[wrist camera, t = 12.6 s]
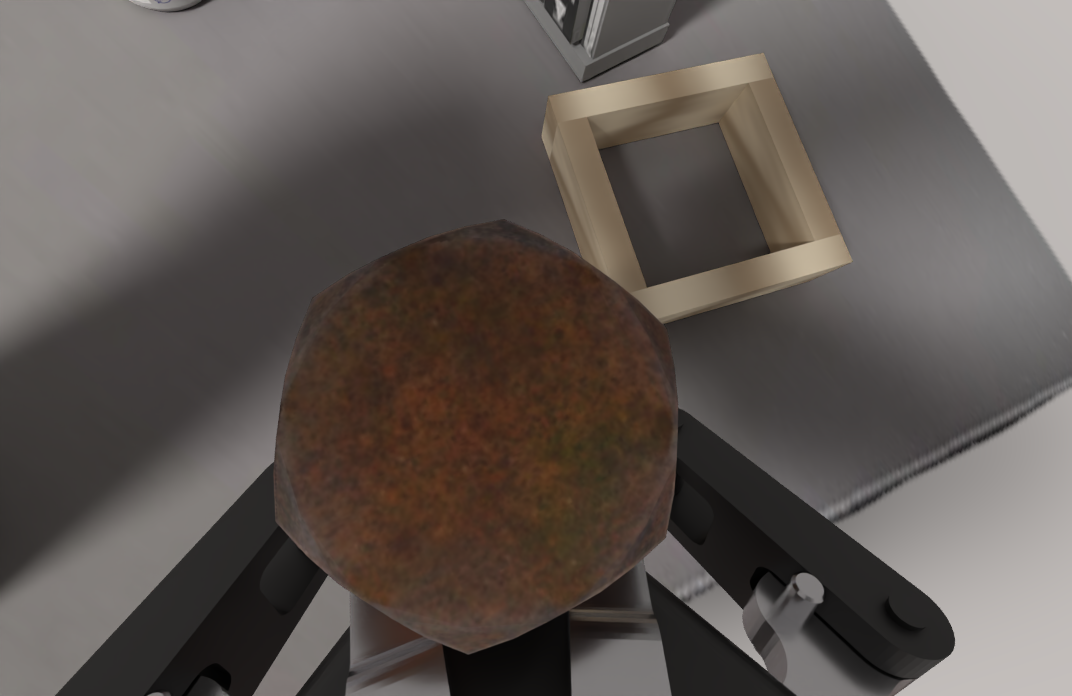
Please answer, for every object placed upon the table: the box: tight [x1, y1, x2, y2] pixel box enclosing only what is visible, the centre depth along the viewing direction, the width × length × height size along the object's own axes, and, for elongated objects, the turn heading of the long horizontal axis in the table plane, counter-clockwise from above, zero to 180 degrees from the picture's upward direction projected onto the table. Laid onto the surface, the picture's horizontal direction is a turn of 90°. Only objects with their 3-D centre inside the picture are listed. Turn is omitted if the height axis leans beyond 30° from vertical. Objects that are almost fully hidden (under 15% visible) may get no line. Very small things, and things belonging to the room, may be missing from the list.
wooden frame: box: [541, 53, 853, 324], centre depth 22 cm, size 12×12×3 cm
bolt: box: [273, 219, 678, 655], centre depth 13 cm, size 6×5×15 cm
